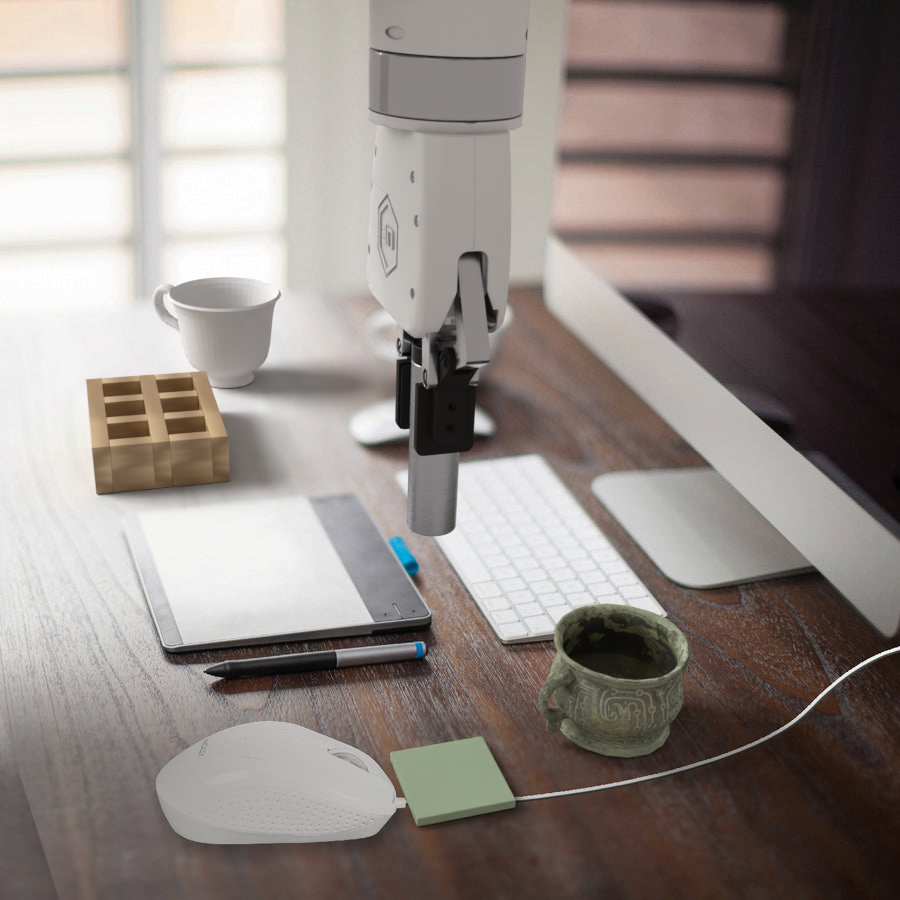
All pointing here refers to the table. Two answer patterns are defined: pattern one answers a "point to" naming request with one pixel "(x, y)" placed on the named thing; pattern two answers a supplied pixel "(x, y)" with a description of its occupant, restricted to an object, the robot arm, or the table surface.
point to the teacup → (222, 325)
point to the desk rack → (156, 432)
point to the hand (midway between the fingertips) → (433, 435)
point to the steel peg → (430, 472)
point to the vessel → (615, 679)
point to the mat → (451, 781)
